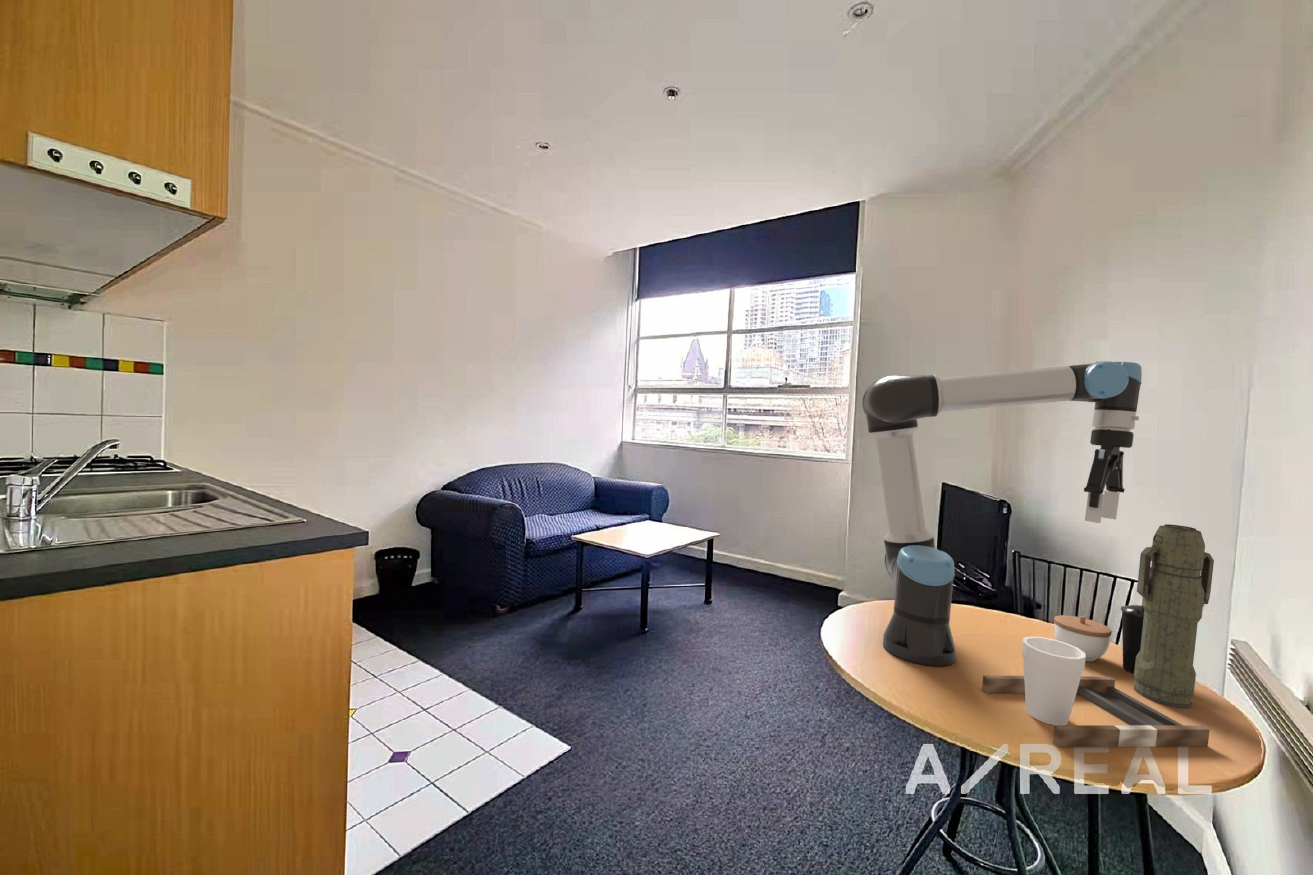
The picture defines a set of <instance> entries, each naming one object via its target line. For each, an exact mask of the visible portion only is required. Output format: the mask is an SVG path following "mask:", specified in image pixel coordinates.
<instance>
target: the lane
mask: <svg viewBox="0 0 1313 875" xmlns="http://www.w3.org/2000/svg"><path fill="white" fill-rule="evenodd" d="M981 683H982V684H981V691H983V692H984V693H985V694H1025V682H1024V675H996V674H995V675H992V674H991V675H988V674H987V675H984V674H983V676H982V682H981ZM1115 685H1116V679H1115V678H1113V677H1112V676H1084V675H1083V676H1082V675H1081V678H1080V682H1079V686H1078V689H1077V693H1076V695H1080V697H1082V698H1084V699H1086V700H1088V701H1089V702H1091V703H1093V704H1094V705H1096V706H1097V707H1099V708H1101V709H1102V710H1104V711H1105V712H1108V713H1109V714H1110V715H1112V716H1114V717H1116V718H1117V719H1119V720H1120V721H1123V722H1124V723H1126V724H1125V725H1122V724H1121V725H1119V724H1117V725H1115V724H1114V725H1113V724H1112V725H1110V724H1109V725H1098V724H1097V725H1096V724H1095V725H1094V724H1093V725H1091V724H1089V725H1086V724H1085V725H1081V724H1080V725H1073V724H1072V725H1071V724H1070V725H1069V724H1067V725H1053V726H1054V727H1053V735H1052V744H1054V745H1055V746H1057V747H1058V748H1089V747H1090V748H1112V747H1113V748H1119V747H1120V748H1127V747H1128V748H1133V747H1134V748H1141V747H1143V748H1145V747H1146V748H1147V747H1149V748H1150V747H1151V748H1153V747H1154V748H1156V747H1157V748H1158V747H1159V748H1161V747H1164V748H1165V747H1175V748H1176V747H1181V748H1182V747H1186V748H1187V747H1191V748H1192V747H1209V737H1210V728H1208V727H1206V726H1204V725H1200V724H1199V725H1194V724H1193V725H1190V724H1189V725H1188V724H1187V725H1185V724H1182V723H1180V722H1178V721H1176V720H1174V719H1173V718H1171V717H1169V716H1168V715H1165V714H1163V713H1161V711H1158V710H1156V709H1155V708H1152V707H1150V706H1149V705H1147V704H1145V703H1144V702H1141V701H1140V700H1138V699H1136V698H1134V697H1132V696H1131V695H1128V694H1127V693H1125V692H1123V691H1122V690H1120V689H1117V688H1115ZM1127 724H1128V725H1127Z"/></svg>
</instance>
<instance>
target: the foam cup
mask: <svg viewBox="0 0 1313 875" xmlns="http://www.w3.org/2000/svg"><path fill="white" fill-rule="evenodd" d="M1021 654H1022V660H1023V661H1022V663H1023V676H1024V682H1025V693H1024V694H1025V695H1024V696H1025V709H1026V710H1025V711H1026V712H1027V714H1028V715H1029V716H1031V717H1032V718H1034V719H1036V720H1037V721H1040V722H1041V723H1042V722H1043V723H1045V724H1048V725H1052V726H1054V725H1069V724H1068V723H1069V721H1070V717H1071V715H1072V714H1071V713H1072V710H1073V707H1074V704H1075V700H1076V695H1077V694H1076V693H1077V689H1078V686H1079V682H1080V678H1081V676H1082V674H1083V672H1084V671H1085V667H1086V661H1085V659H1086V656H1085V653H1084V652H1083V651H1081V650H1080V649H1079V648H1076V647H1074V646H1072V645H1070V644H1067V643H1064V642H1061V641H1057V640H1056V639H1055V638H1048V637H1042V636H1029V635H1028V636H1025V637H1023V638H1022V646H1021Z"/></svg>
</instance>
